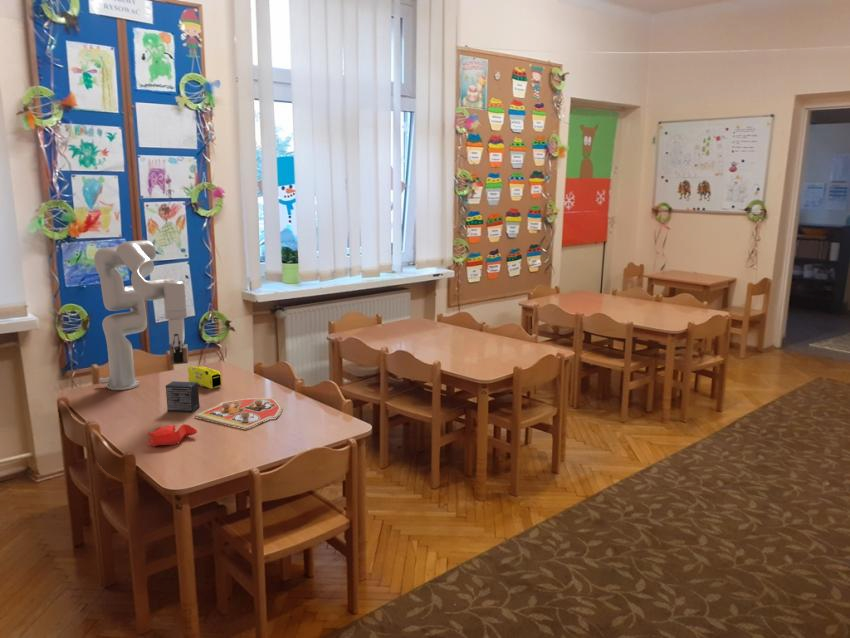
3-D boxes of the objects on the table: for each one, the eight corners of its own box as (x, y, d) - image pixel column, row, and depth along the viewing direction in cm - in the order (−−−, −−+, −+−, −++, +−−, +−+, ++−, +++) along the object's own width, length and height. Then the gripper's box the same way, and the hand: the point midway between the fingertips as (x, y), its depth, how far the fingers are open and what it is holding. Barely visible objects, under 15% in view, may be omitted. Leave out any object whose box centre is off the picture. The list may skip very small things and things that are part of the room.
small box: (200, 407, 259) (198, 381, 257) (193, 412, 253) (191, 386, 250) (174, 405, 260) (172, 380, 258) (166, 411, 254) (164, 385, 251)
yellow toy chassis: (188, 383, 288) (186, 365, 286) (199, 380, 292) (198, 362, 290) (211, 390, 279) (210, 371, 277) (222, 387, 283) (221, 368, 281)
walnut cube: (170, 364, 249) (169, 349, 247) (172, 360, 254) (170, 345, 253) (187, 363, 250) (186, 347, 249) (188, 359, 256) (187, 344, 254)
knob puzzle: (191, 418, 248) (190, 407, 247) (246, 396, 274) (245, 385, 273) (250, 433, 235) (250, 421, 234) (302, 407, 260) (302, 397, 259)
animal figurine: (202, 439, 228) (201, 425, 227) (159, 451, 218) (158, 437, 217) (186, 430, 236) (185, 416, 235) (144, 441, 225) (143, 427, 224)
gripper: (167, 310, 255) (171, 355, 259) (162, 319, 239) (166, 366, 243) (188, 309, 257) (191, 353, 261) (184, 318, 241) (188, 365, 245)
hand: (179, 359), depth 252 cm, fingers closed on walnut cube, 6 cm apart
